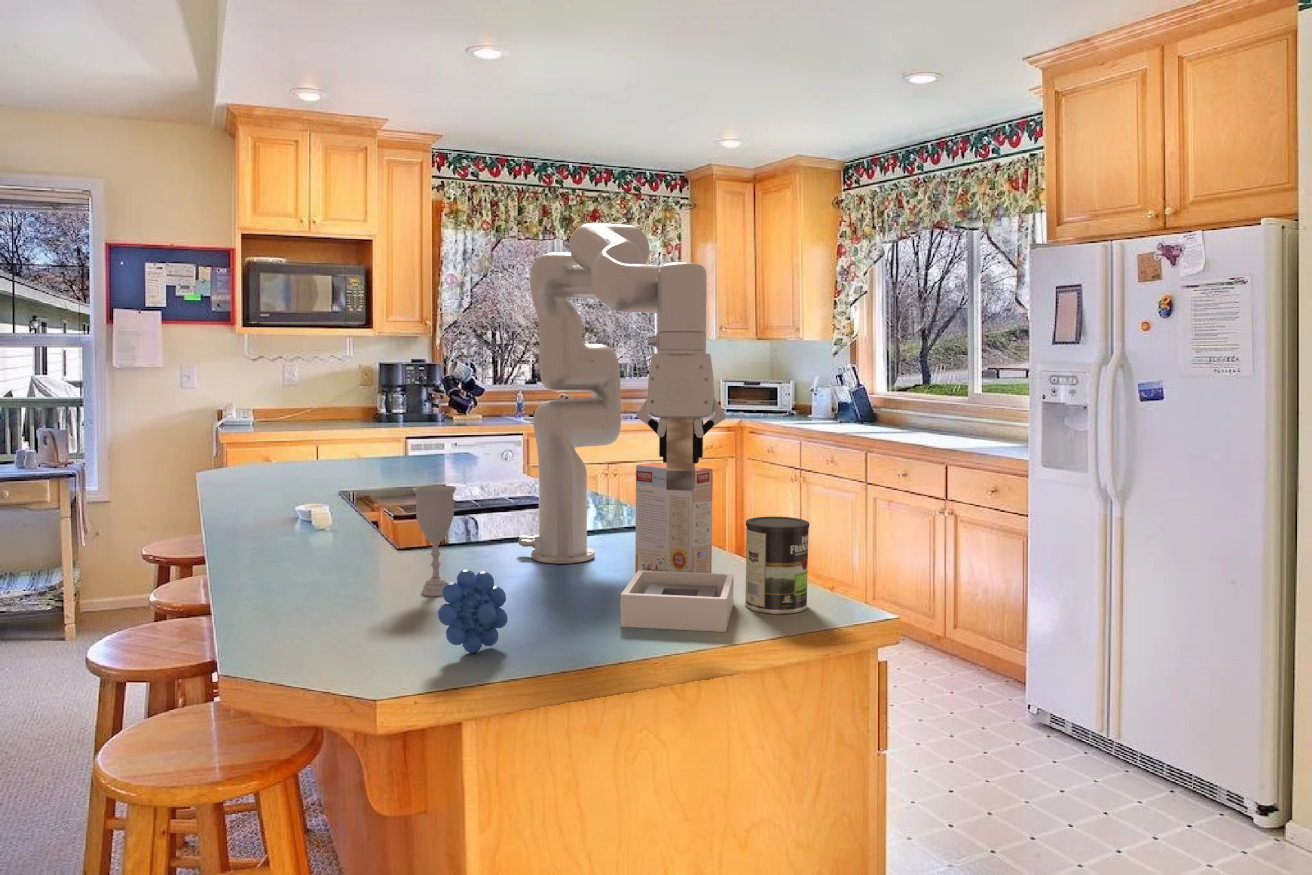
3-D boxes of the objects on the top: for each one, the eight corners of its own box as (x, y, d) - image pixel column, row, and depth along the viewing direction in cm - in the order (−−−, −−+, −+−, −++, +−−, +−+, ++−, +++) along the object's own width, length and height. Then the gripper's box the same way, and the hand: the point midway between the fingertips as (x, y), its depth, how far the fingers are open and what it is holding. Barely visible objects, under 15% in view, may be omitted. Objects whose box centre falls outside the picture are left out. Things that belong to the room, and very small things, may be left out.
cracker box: (713, 583, 176) (714, 467, 174) (691, 589, 172) (692, 470, 170) (656, 570, 186) (656, 460, 184) (634, 575, 181) (634, 463, 179)
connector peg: (666, 489, 152) (666, 412, 150) (669, 486, 155) (670, 410, 154) (692, 490, 151) (692, 412, 150) (694, 486, 155) (695, 411, 154)
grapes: (460, 670, 129) (459, 580, 128) (428, 659, 133) (427, 572, 132) (526, 649, 138) (525, 565, 136) (495, 639, 142) (494, 558, 141)
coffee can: (817, 603, 163) (819, 519, 161) (791, 618, 154) (793, 529, 153) (761, 594, 168) (762, 513, 167) (733, 608, 160) (734, 522, 158)
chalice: (419, 599, 164) (418, 492, 162) (410, 589, 170) (408, 487, 168) (462, 594, 167) (461, 489, 166) (451, 585, 173) (450, 484, 172)
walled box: (620, 626, 149) (620, 594, 148) (637, 599, 164) (638, 570, 164) (726, 631, 146) (726, 599, 146) (733, 603, 162) (733, 574, 162)
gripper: (624, 344, 149) (624, 464, 150) (734, 344, 146) (733, 466, 148) (632, 344, 156) (632, 458, 158) (737, 344, 154) (736, 460, 155)
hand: (681, 460), depth 153 cm, fingers closed on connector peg, 4 cm apart
